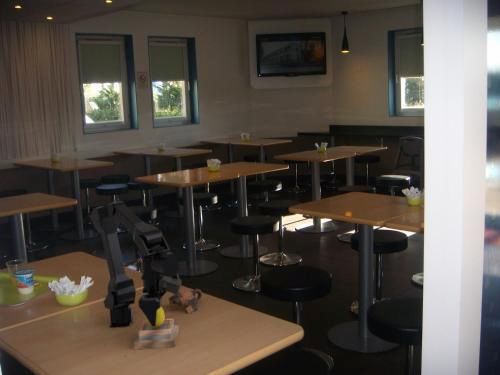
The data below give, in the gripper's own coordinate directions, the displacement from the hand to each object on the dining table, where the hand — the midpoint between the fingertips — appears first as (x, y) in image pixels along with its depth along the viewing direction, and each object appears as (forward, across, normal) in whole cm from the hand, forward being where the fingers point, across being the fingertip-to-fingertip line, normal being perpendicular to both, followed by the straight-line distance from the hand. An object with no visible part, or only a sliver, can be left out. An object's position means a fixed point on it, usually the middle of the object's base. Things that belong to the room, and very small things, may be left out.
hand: (155, 320), depth 173 cm
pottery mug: (+7, +26, -7) cm, 27 cm away
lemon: (+3, 0, 0) cm, 3 cm away
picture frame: (+6, 0, 0) cm, 6 cm away
